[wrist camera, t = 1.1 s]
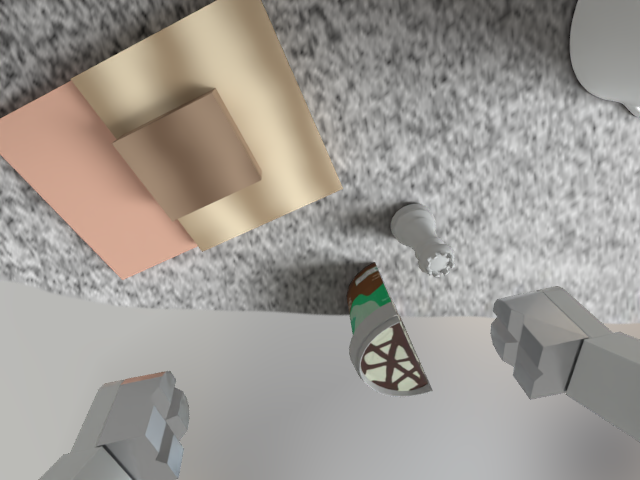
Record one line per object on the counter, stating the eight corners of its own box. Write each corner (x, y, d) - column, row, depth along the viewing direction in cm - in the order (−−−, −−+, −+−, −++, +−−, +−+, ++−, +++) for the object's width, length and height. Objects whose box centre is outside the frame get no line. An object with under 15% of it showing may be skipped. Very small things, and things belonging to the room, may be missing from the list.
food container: (319, 275, 40) (332, 344, 32) (370, 252, 39) (398, 317, 31) (358, 342, 46) (378, 414, 38) (403, 323, 46) (434, 393, 37)
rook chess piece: (382, 214, 37) (408, 258, 30) (423, 193, 36) (458, 234, 30) (397, 245, 39) (424, 293, 32) (436, 227, 39) (471, 272, 32)
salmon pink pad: (86, 74, 27) (77, 76, 26) (205, 235, 36) (203, 243, 34) (-10, 125, 28) (-23, 131, 27) (127, 270, 37) (122, 280, 36)
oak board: (254, -16, 26) (252, -19, 23) (337, 175, 34) (343, 188, 32) (88, 72, 27) (70, 78, 25) (207, 234, 36) (202, 251, 33)
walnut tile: (215, 87, 26) (211, 92, 25) (261, 170, 30) (261, 180, 28) (121, 135, 27) (111, 143, 25) (177, 210, 31) (172, 221, 29)
